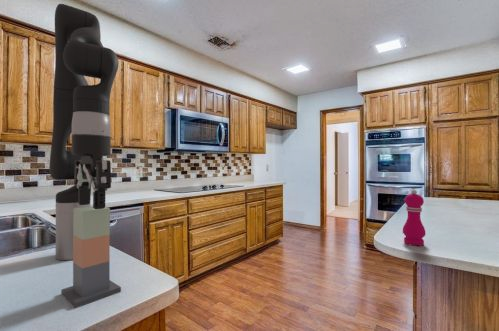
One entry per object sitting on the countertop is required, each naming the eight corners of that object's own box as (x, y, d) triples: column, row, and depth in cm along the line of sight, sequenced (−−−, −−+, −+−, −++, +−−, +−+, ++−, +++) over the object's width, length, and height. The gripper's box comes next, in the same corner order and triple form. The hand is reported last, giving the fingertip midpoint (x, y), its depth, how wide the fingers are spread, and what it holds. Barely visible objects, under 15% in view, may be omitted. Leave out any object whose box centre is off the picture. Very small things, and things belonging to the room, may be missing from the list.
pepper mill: (425, 247, 93) (426, 190, 93) (402, 244, 97) (402, 189, 97) (425, 242, 100) (425, 189, 100) (402, 239, 103) (403, 188, 103)
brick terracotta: (73, 262, 59) (73, 235, 59) (99, 255, 64) (99, 230, 64) (82, 268, 56) (82, 239, 56) (109, 261, 60) (109, 234, 60)
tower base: (61, 293, 59) (61, 262, 59) (104, 280, 66) (104, 252, 66) (75, 307, 54) (75, 273, 54) (120, 291, 60) (120, 260, 60)
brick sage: (73, 235, 60) (73, 208, 59) (99, 230, 64) (99, 205, 64) (82, 239, 56) (82, 211, 56) (109, 234, 60) (109, 208, 60)
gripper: (123, 134, 58) (123, 208, 58) (96, 137, 67) (96, 201, 67) (85, 130, 52) (84, 212, 52) (61, 134, 61) (61, 205, 61)
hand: (91, 206), depth 60 cm, fingers open, 8 cm apart
